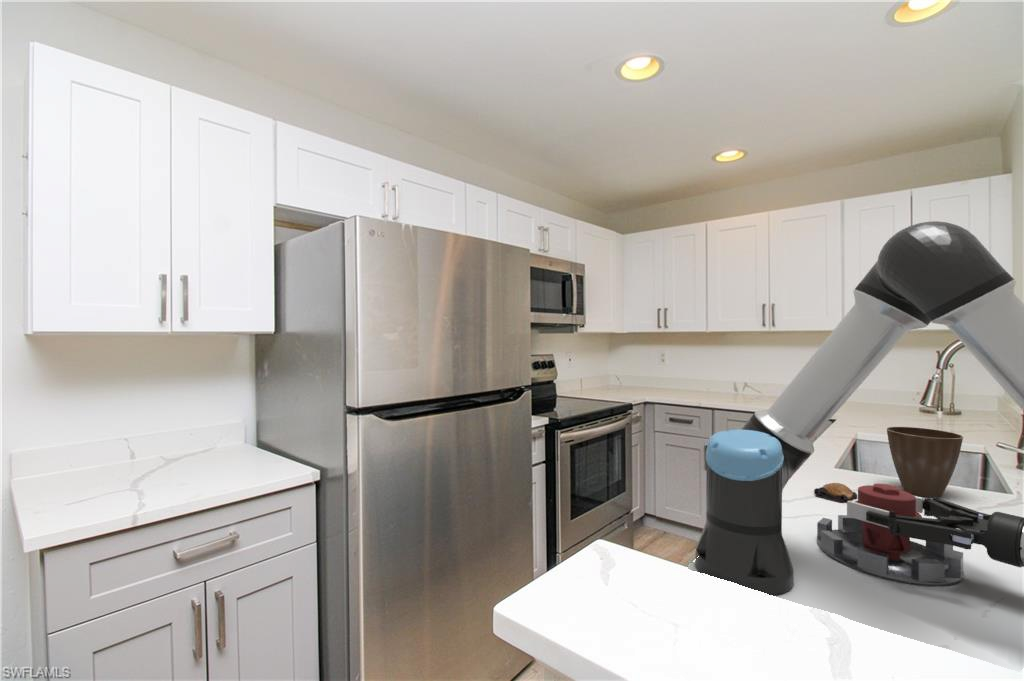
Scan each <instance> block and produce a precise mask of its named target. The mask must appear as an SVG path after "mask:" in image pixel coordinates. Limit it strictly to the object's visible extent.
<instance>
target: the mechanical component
mask: <svg viewBox="0 0 1024 681" xmlns="http://www.w3.org/2000/svg"><path fill="white" fill-rule="evenodd" d="M915 496H916V495H914V494H911V493H908V492H906V491H904V490H902V489H900V487H898V486H895V485H892V484H888V483H887V484H886V483H874V484H872V485H870V484H869V485H868V484H867V485H866V484H865V485H861V486H859V487H858V488H857V500H855V501H854V502H856V503H860V504H863V505H867V506H871V507H875V508H879V509H882V510H886V511H889V510H892V511H894V512H895V515H902V516H912V517H922V515H921V513H918V512H917V511H916V497H917V496H916V497H915ZM922 518H923V517H922ZM899 527H900V524H899ZM862 534H863V537H862V541H863V548H865V549H869V550H873V551H876V552H880V553H883V554H887V555H889V559H890V560H892V561H899V560H900V553H907V552H909V551H910V541H911V538H909V537H903V536H897V535H892V534H890V533H889V528H886V527H883V526H879V525H876V524H872V523H869V522H865V521H862Z"/></svg>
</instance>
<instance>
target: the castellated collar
mask: <svg viewBox="0 0 1024 681" xmlns="http://www.w3.org/2000/svg"><path fill="white" fill-rule="evenodd" d="M837 517H838V518H837V529H833V519H831V518H827V517H822V518H821V519H820V520H819V521H818V522H817V523H816V525H817V526H816V527H817V528H816V529H817V531H816V532H817V534H816V538H817V539H816V544H817V546H818V548H819V549H820V550H821V552H823V553H824V554H825V555H826V556H828V557H829V558H831V559H833V560H834V561H836V562H839V563H840V564H842V565H845V566H846V567H849V568H851V569H853V570H856V571H858V572H862V573H863V574H864V573H865V574H867V575H870V576H874V577H878V578H880V579H884V580H888V581H891V582H897V583H903V584H908V585H914V586H915V585H916V586H921V587H922V586H924V587H925V586H926V587H949V586H953V585H956V584H957V585H958V584H959V583H961V582H962V581H963V580H964V575H965V574H964V552H963V551H959V550H954V546H953V545H948V544H942V543H937V542H931V541H925V545H924V544H922V543H919V542H916V541H913V540H910V551H909V552H907V553H900V560H899V561H892V560H890V559H889V555H887V554H883V553H880V552H876V551H873V550H869V549H865V548H863V541H862V537H863V534H862V520H859V519H855V518H852V517H848V516H847V514H845V515H843V514H838V515H837Z"/></svg>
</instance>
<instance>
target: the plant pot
mask: <svg viewBox="0 0 1024 681" xmlns="http://www.w3.org/2000/svg"><path fill="white" fill-rule="evenodd" d="M886 433H887V434H886V435H887V439H888V440H887V441H888V446H889V450H890V454H891V459H892V462H893V465H894V469H895V471H896V474H897V476H898V479H899V482H900V485H901V487H902V489H903V491H905V492H908V493H910V494H912V495H914V496H917V497H924V498H931V499H932V498H933V497H934V498H935V497H937V498H941V497H942V496H943V495H944V492H945V491H946V489H947V487H948V485H949V483H950V481H951V479H952V477H953V474H954V471H955V469H956V465H957V463H958V461H959V460H958V459H959V457H960V453H961V449H962V444H963V441H964V440H963V439H964V436H963V435H962V434H959V433H956V432H952V431H951V432H950V431H945V430H939V429H933V428H932V429H931V428H924V427H923V428H922V427H912V426H911V427H910V426H889V427H887V428H886Z"/></svg>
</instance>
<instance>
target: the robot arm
mask: <svg viewBox="0 0 1024 681" xmlns="http://www.w3.org/2000/svg"><path fill="white" fill-rule="evenodd" d="M1016 283H1017V280H1015V278H1014V277H1013V276H1012V275H1011V274H1010V273H1009V272H1007V270H1006V269H1005V268H1004V267H1003V266H1002V265H1001V264H1000V262H998V260H997V259H996V258H995V257H994V256H993V255H992V254H991V253H990V251H989V250H988V249H987V248H986V247H985V246H984V244H982V243H981V240H979V239H978V238H977V237H976V236H975V235H974V234H973V233H972V232H970V231H969V230H968V229H966V228H964V227H962V226H959V225H957V224H954V223H950V222H947V221H937V220H936V221H935V220H934V221H923V222H919V223H915V224H913V225H908V227H905V228H902V229H900V230H899V231H898V232H896V233H895V234H893V235H892V236H891V237H889V239H888V240H887V241H886V242H885V244H884V245H883V246H882V248H881V249H880V251H879V254H878V256H877V260H876V262H875V263H874V265H873V266H872V267H871V268H870V269H869V270H868V272H867V273H866V274H865V276H864V277H863V278H862V279H861V280H860V282H859V283H858V284H857V286H856V287H855V288H854V289H853V292H852V293H853V297H854V305H853V306H852V307H851V308H850V309H849V311H848V312H847V313H846V315H845V316H844V317H843V318H842V319H841V321H840V322H839V323H838V324H837V325H836V327H835V328H834V329H833V330H832V331H831V333H830V334H829V335H828V336H827V338H826V339H825V340H824V341H823V342H822V344H820V346H819V347H818V349H817V350H816V351H815V353H813V354H812V356H811V357H810V358H809V359H808V361H807V362H806V363H805V364H804V365H803V367H801V370H800V371H798V373H797V375H795V376H794V378H793V379H792V380H791V382H790V383H789V384H788V385H787V386H786V388H785V389H784V390H783V391H782V392H781V394H780V395H779V396H778V397H777V398H776V400H775V401H774V402H773V403H772V405H771V406H770V407H769V408H768V409H762V410H756V411H755V412H754V413H753V414H752V415H751V417H750V418H749V419H748V421H747V422H746V423H745V424H744V425H743V427H742V428H741V429H728V430H720V431H717V432H716V433H713V434H712V435H711V436H710V437H709V438H708V440H707V443H706V444H707V445H706V451H705V461H706V479H705V480H706V482H705V483H706V485H705V486H706V490H705V492H706V500H705V502H706V509H705V510H706V512H705V513H706V516H705V517H706V518H705V524H704V526H703V528H702V531H701V535H700V537H699V540H698V541H697V542H698V543H697V546H696V547H695V554H694V555H695V556H694V557H695V559H696V560H695V559H694V561H695V567H696V569H697V570H698V571H699V573H700V572H702V573H705V574H708V575H710V576H714V577H717V578H720V579H724V580H727V581H731V582H734V583H737V584H739V585H742V586H745V587H748V588H751V589H754V590H758V591H761V592H764V593H767V594H770V595H769V596H774V595H780V594H784V593H786V592H789V591H790V590H791V589H792V588H793V586H794V585H795V584H794V581H795V580H794V576H795V573H794V572H795V571H794V570H795V569H794V566H793V563H792V560H791V558H790V554H789V552H788V548H787V546H786V542H785V540H784V537H783V528H782V526H783V525H782V524H783V522H782V520H783V490H784V489H785V487H786V486H787V483H788V482H789V480H790V479H791V478H793V476H794V474H795V473H797V471H799V470H800V468H801V467H802V466H803V465H804V463H805V462H807V460H809V458H810V457H811V456H812V454H814V452H815V447H814V442H813V439H814V438H815V436H817V435H818V433H819V432H820V431H821V430H822V429H823V427H824V426H825V425H826V424H827V423H828V422H829V420H831V418H833V416H834V415H835V414H836V413H837V412H838V411H839V410H840V409H841V407H842V406H843V405H844V404H845V403H846V402H847V401H848V399H849V398H850V397H851V396H852V395H853V394H854V393H855V391H857V389H858V388H859V387H860V386H861V385H862V384H863V382H864V381H866V379H867V378H868V377H869V376H870V375H871V374H872V372H873V371H874V370H875V369H876V368H877V367H878V365H879V364H880V363H881V362H882V361H883V360H884V359H885V358H886V357H887V355H889V353H890V352H891V351H892V350H893V349H894V347H895V346H896V345H897V344H898V343H899V342H900V340H902V338H903V337H904V336H905V335H906V334H907V333H908V332H910V331H912V330H917V329H918V330H919V329H923V328H927V327H928V326H929V325H930V323H932V324H937V325H942V326H943V325H944V326H945V327H947V328H948V329H949V331H951V332H952V334H953V335H954V336H955V337H956V338H957V339H958V340H959V341H960V342H961V344H963V345H964V346H965V348H966V349H967V350H968V351H969V352H970V354H972V356H973V357H974V358H975V359H976V360H977V361H978V362H979V364H981V365H982V367H983V368H984V369H985V370H986V371H987V372H988V374H990V376H992V378H993V379H994V380H995V381H996V383H998V384H999V386H1001V388H1002V389H1003V390H1004V391H1005V392H1006V393H1007V394H1008V395H1009V396H1010V398H1011V399H1012V400H1013V401H1014V402H1015V403H1016V404H1017V405H1018V406H1019V407H1020V408H1021V410H1022V411H1023V412H1024V302H1023V301H1022V300H1021V299H1020V298H1019V297H1018V296H1017V295H1016V294H1015V293H1014V291H1015V290H1014V289H1015V286H1016ZM914 496H915V497H916V511H917V512H918V513H919V514H922V513H923V515H924V517H912V516H902V515H895V512H894V511H892V510H889V511H886V510H882V509H879V508H875V507H871V506H867V505H863V504H860V503H856V502H855V501H847V503H846V515H847V516H848V517H852V518H855V519H859V520H862V521H865V522H869V523H872V524H876V525H879V526H883V527H886V528H889V533H890V534H892V535H897V536H903V537H909V538H910V539H915V540H921V541H924V542H926V541H931V542H937V543H942V544H948V545H953V547H957V548H962V549H964V550H972V545H973V544H976V545H981V546H984V547H985V549H986V553H987V555H988V557H989V558H990V559H992V560H993V561H996V562H1000V563H1003V564H1005V565H1006V564H1007V565H1011V566H1014V567H1016V568H1019V569H1020V568H1023V567H1024V517H1023V516H1019V515H1013V514H1009V513H1005V512H1002V511H995V512H992V513H991V514H988V513H984V512H980V511H977V510H974V509H971V508H969V507H966V506H962V505H960V504H957V503H954V502H952V501H951V502H950V501H948V500H946V499H942V498H941V497H938V498H937V497H935V498H934V497H933V498H932V497H924V498H923V497H922V496H917V495H914ZM923 511H924V512H923ZM932 517H933V518H932ZM899 524H900V527H899ZM698 556H699V557H698ZM697 557H698V558H697Z"/></svg>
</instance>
